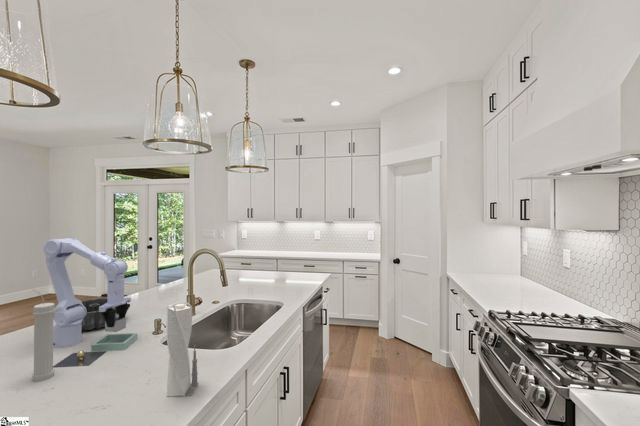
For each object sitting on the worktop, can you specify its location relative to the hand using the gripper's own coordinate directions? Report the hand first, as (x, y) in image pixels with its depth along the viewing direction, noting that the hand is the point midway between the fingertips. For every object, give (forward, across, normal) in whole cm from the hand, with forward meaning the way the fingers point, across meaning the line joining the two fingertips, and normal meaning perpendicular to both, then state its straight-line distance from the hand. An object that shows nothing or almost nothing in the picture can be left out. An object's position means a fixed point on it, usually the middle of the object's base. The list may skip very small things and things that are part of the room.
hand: (115, 324), depth 128 cm
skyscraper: (+10, -26, -44) cm, 52 cm away
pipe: (+9, -27, +3) cm, 28 cm away
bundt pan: (+10, +23, +31) cm, 40 cm away
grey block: (+2, 0, 0) cm, 2 cm away
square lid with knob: (+9, -13, +3) cm, 16 cm away
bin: (+9, 0, 0) cm, 9 cm away
